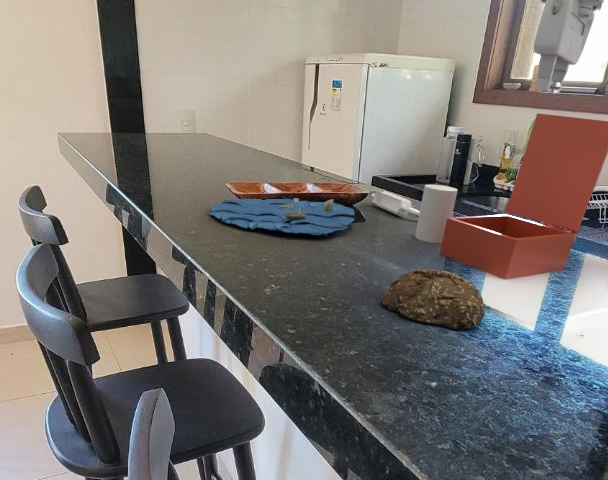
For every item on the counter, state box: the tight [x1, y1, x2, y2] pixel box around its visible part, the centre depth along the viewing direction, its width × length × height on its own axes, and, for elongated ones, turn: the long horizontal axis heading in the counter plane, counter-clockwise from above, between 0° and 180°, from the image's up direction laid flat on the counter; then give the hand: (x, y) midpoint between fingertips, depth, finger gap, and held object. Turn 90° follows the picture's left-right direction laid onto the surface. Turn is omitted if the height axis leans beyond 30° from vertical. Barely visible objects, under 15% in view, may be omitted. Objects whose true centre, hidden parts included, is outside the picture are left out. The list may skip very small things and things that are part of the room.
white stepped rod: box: [371, 190, 420, 218], centre depth 122 cm, size 20×8×4 cm, turn 23°
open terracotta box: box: [439, 214, 576, 280], centre depth 88 cm, size 16×14×7 cm
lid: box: [505, 112, 608, 232], centre depth 87 cm, size 16×14×1 cm
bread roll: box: [380, 268, 486, 330], centre depth 67 cm, size 13×12×5 cm
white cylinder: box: [414, 184, 459, 244], centre depth 97 cm, size 6×6×10 cm
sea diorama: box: [208, 197, 355, 236], centre depth 103 cm, size 30×30×5 cm
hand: (547, 92), depth 85 cm, fingers open, 8 cm apart
